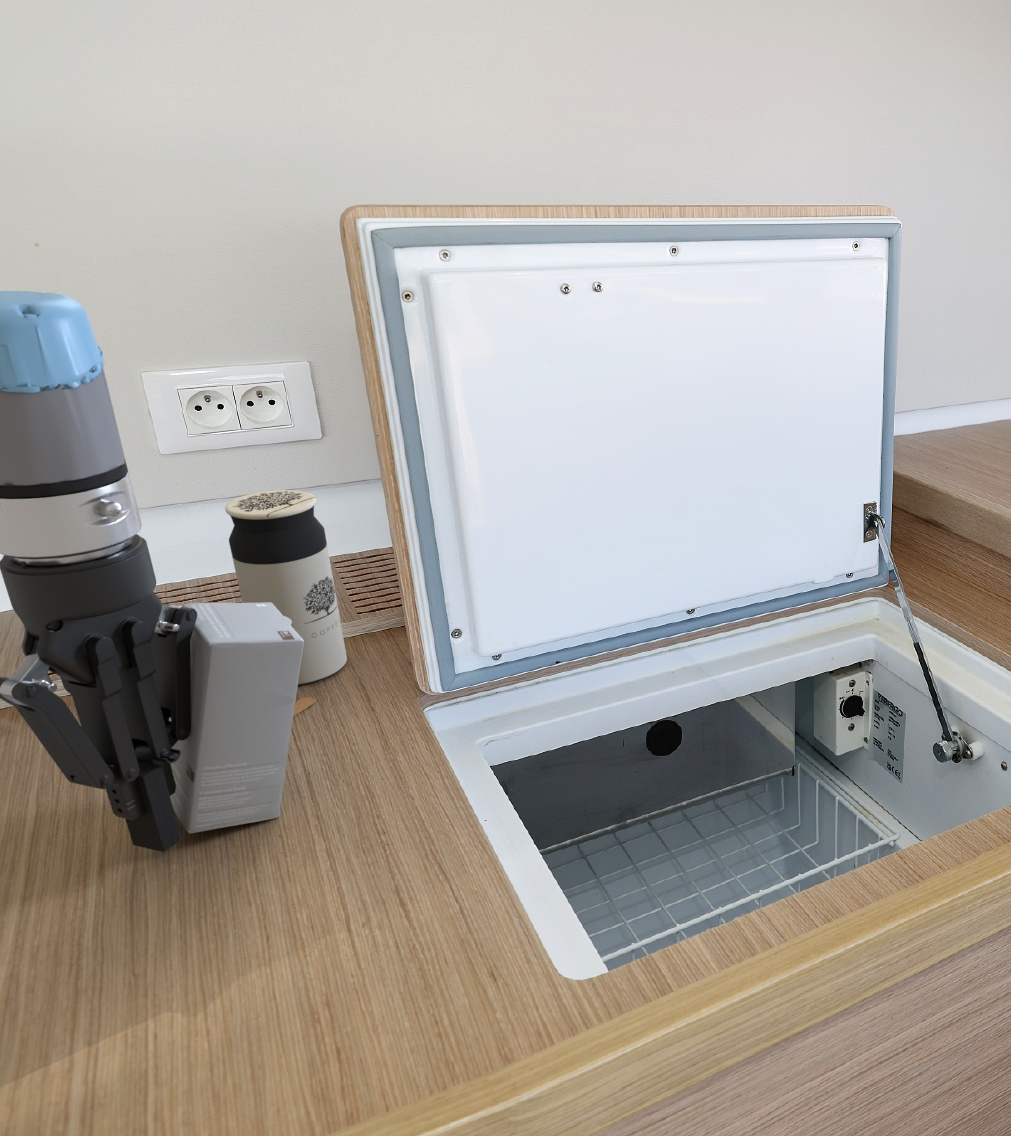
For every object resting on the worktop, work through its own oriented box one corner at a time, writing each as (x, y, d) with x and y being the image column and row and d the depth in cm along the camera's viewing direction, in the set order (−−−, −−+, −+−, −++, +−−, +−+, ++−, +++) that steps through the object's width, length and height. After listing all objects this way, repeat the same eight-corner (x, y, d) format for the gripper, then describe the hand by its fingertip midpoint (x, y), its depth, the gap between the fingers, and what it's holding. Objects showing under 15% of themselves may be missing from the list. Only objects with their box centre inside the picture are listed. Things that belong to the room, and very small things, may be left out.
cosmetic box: (160, 788, 75) (167, 601, 72) (261, 771, 81) (273, 596, 77) (186, 839, 70) (195, 639, 66) (293, 818, 75) (307, 632, 72)
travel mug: (240, 675, 95) (201, 505, 88) (311, 643, 101) (281, 483, 94) (294, 695, 92) (259, 521, 85) (364, 661, 98) (337, 497, 92)
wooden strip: (134, 810, 75) (133, 807, 75) (303, 699, 91) (302, 697, 91) (150, 813, 75) (149, 811, 75) (316, 701, 91) (316, 699, 91)
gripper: (16, 591, 54) (117, 914, 63) (207, 519, 66) (270, 799, 75) (-88, 574, 55) (26, 891, 64) (118, 506, 67) (190, 783, 76)
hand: (157, 842), depth 70 cm, fingers closed
